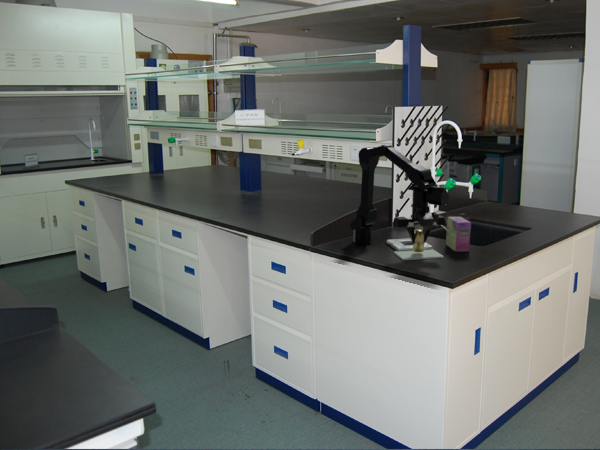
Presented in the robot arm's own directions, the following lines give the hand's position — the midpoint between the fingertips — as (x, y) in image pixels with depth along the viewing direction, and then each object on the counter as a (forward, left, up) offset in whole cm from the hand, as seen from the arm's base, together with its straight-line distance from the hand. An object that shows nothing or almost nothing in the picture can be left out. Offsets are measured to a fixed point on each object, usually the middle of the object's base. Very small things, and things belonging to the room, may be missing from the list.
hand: (418, 243), depth 197 cm
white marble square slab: (+1, +12, -5) cm, 13 cm away
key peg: (0, 0, -3) cm, 3 cm away
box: (+19, +6, -5) cm, 21 cm away
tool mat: (0, 0, -5) cm, 5 cm away
